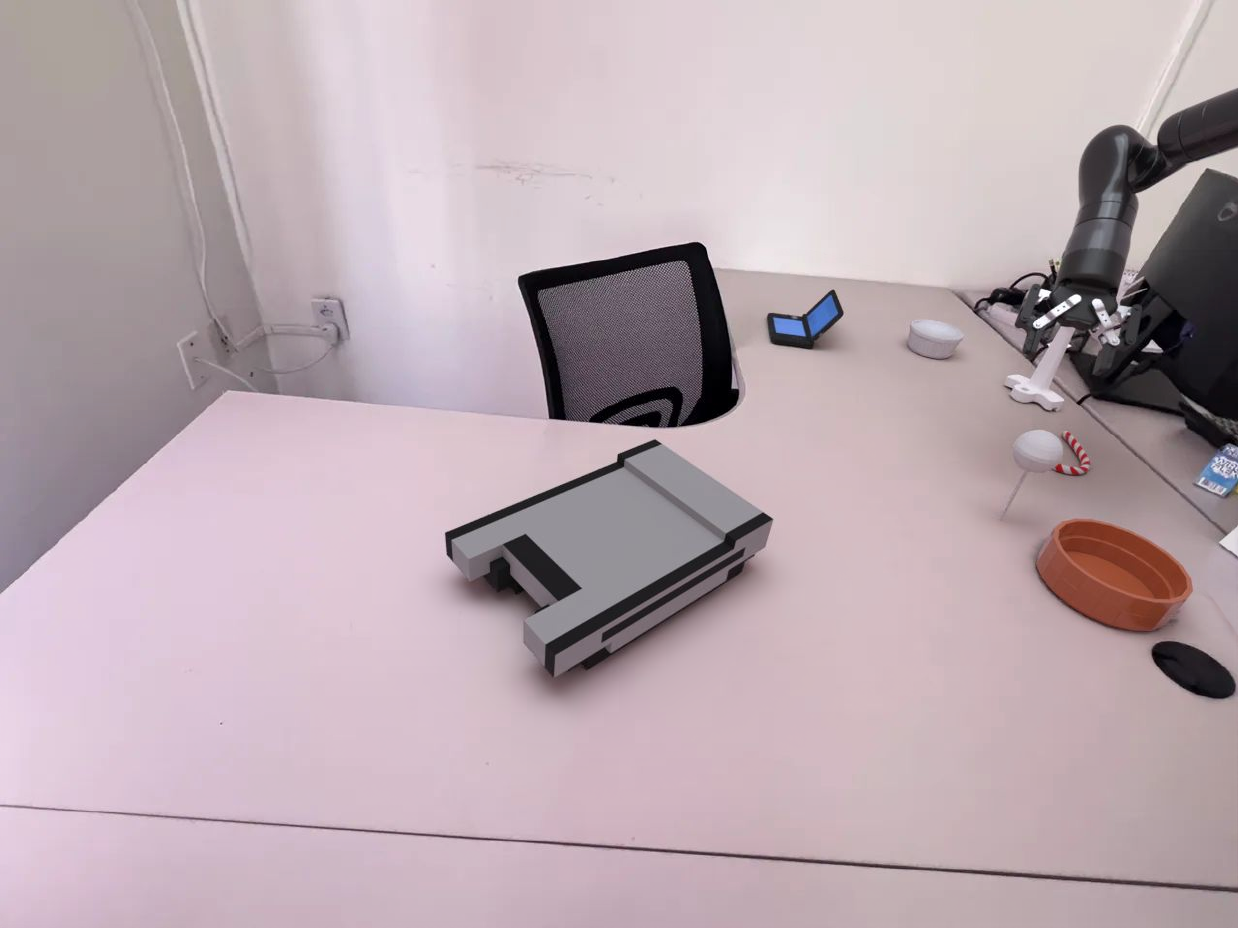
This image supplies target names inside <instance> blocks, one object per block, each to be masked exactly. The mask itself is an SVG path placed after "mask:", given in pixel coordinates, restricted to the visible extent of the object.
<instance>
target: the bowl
mask: <svg viewBox="0 0 1238 928" xmlns="http://www.w3.org/2000/svg"><path fill="white" fill-rule="evenodd" d="M1035 565H1036V567H1037V570H1038V572H1039V573H1038V574H1039V575H1040V578H1042V580H1043V581H1044V583H1045V584H1046V586H1047V587H1048V588H1049V589H1050V590H1051V591H1052V593H1054V595H1055V596H1056V597H1058V598H1059V599H1060V600H1061V601H1062V602H1064V603H1065V604H1067V605H1068V606H1069V607H1070V608H1072V609H1074V610H1075V611H1077V612H1078V613H1080V614H1082V615H1084V616H1086V617H1088V618H1090V619H1092V620H1094V621H1097V622H1098V623H1101V624H1104V625H1107V626H1111V627H1114V628H1117V629H1121V630H1122V629H1123V630H1128V631H1136V632H1137V631H1140V632H1151V631H1154V630H1157V629H1161V628H1163V627H1165V626H1166V625H1167V624H1168V623H1169V622H1170V620H1171V619H1172V618H1173V617H1174V615H1175V614H1176V613H1177V612H1178V610H1180V608H1181V607H1182V606H1183V605H1184V604H1185V603H1186V601H1187V600H1188V599H1189V597H1191V594H1192V593H1193V592H1194V586H1193V581H1192V580H1193V579H1192V578H1191V576H1190V574H1189V573H1188V572H1187V569H1186V568H1185V567H1184V566H1183V565H1182V564H1181V563H1180V562H1179V561H1178V560H1177V559H1176V558H1175V557H1174V556H1173V555H1172V554H1170V553H1169V552H1168V551H1167V550H1166V549H1164V548H1162V547H1161V546H1159V545H1157V544H1156V543H1155V542H1153V541H1152V540H1150V539H1148V538H1146V537H1144V536H1142V535H1140V534H1138V533H1136V532H1134V531H1132V530H1131V529H1127V528H1124V527H1121V526H1120V525H1116V524H1113V523H1111V522H1105V521H1101V520H1098V519H1097V520H1096V519H1091V518H1071V519H1066V520H1062V521H1060V522H1059V523H1058V524H1057V525H1056V526H1055V527H1054V528H1053V530H1052V531H1051V533H1050V534H1049V536H1048V537H1047V539H1046V541H1045V543H1044V544H1043V546H1042V548H1041V549H1040V551H1039V552H1038V554H1037V558H1036V564H1035Z"/></svg>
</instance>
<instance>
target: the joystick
mask: <svg viewBox="0 0 1238 928" xmlns="http://www.w3.org/2000/svg"><path fill="white" fill-rule="evenodd" d="M1075 331H1076V329H1075V328H1073V327H1063V326H1059V329H1058V330H1057V332H1056V334H1055V336H1054V337H1053V339H1052V341H1051V343H1050V344H1049V346H1048V348H1047V350H1046V351H1045V353H1044V354H1043V356H1042V358H1041V360H1040V362H1039V364H1038V365H1037V367H1036V369H1035V370H1034V372H1033V373H1032V375H1031V377H1030V378H1029V377H1026V376H1024V375H1021V374H1011V375H1007V376H1006V379H1005V381H1004V383H1003V385H1004V386H1006V387H1008V388H1011V389H1012V390H1011V392H1010V394H1009V395H1010V396H1011V399H1013V400H1014V401H1016V402H1017V403H1022V404H1027V403H1032V402H1033V403H1037V404H1039V405H1040V406H1041V407H1042V408H1044V409H1045V410H1047V411H1052V410H1053V411H1054V412H1059V411H1060V410H1061V408H1062V406H1063V405H1064V402H1065V399H1064V398H1063V397H1061V395H1059V394H1057V393H1056V392H1055V391H1053V390H1052V389H1050V386H1051V384H1052V382H1053V379H1054V377H1055V375H1056V373H1057V370H1058V368H1059V366H1060V364H1061V362H1062V360H1063V357H1064V355H1065V353H1066V351H1067V349H1068V347H1069V345H1070V342H1071V340H1072V337H1073V335H1074V333H1075Z"/></svg>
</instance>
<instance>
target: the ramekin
mask: <svg viewBox="0 0 1238 928" xmlns="http://www.w3.org/2000/svg"><path fill="white" fill-rule="evenodd" d="M964 338H965V335H964V332H962V330H960V328H958V327H956V326H954V325H951V324H950V323H946V322H943V321H938V320H934V319H915V320H912V321H911V322H910V324H909V331H908V338H907V346H908V348H909V350H911V351H912V352H913V353H916V354H918V355H920V356H922V357H924V358H925V357H926V358H930V359H936V360H937V359H938V360H942V359H943V360H944V359H947V358H949V357H951V356H952V355H954V353H955V351H956V350H957V348H958V346H959V345H960V343H961V342H962V341H963V340H964Z"/></svg>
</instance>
